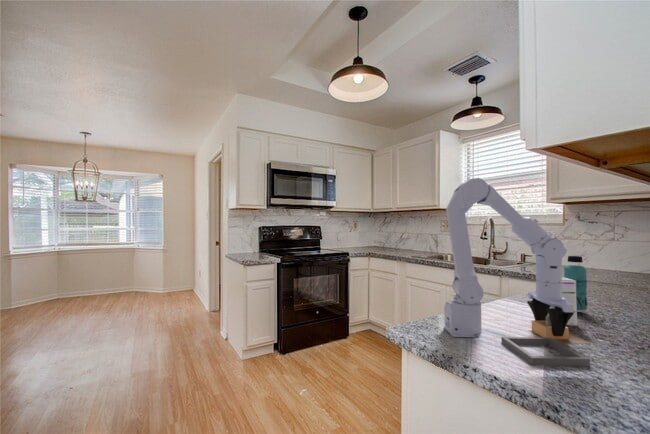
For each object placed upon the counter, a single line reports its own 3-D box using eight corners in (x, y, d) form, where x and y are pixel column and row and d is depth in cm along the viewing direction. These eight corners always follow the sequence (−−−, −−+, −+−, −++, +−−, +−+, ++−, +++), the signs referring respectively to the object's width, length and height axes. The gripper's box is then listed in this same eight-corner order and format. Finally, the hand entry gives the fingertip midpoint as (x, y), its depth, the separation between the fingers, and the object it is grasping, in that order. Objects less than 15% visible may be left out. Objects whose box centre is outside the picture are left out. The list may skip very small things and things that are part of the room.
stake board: (550, 346, 76) (550, 321, 76) (528, 333, 85) (527, 311, 85) (591, 347, 75) (590, 322, 75) (564, 334, 84) (564, 312, 84)
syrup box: (578, 329, 89) (577, 280, 89) (555, 327, 90) (555, 279, 90) (566, 322, 94) (566, 276, 95) (545, 321, 95) (545, 276, 96)
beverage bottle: (559, 310, 107) (558, 255, 108) (572, 309, 109) (571, 254, 110) (579, 315, 101) (578, 257, 102) (592, 314, 103) (591, 256, 104)
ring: (545, 338, 78) (545, 327, 78) (531, 331, 84) (531, 320, 84) (574, 339, 78) (574, 327, 78) (558, 331, 84) (558, 320, 84)
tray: (532, 369, 64) (531, 357, 64) (501, 346, 76) (501, 336, 76) (590, 370, 63) (589, 359, 63) (550, 347, 75) (549, 337, 75)
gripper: (585, 287, 74) (586, 342, 74) (545, 276, 89) (546, 322, 88) (556, 286, 74) (557, 341, 74) (520, 276, 89) (521, 322, 89)
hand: (549, 331), depth 81 cm, fingers closed on ring, 6 cm apart
